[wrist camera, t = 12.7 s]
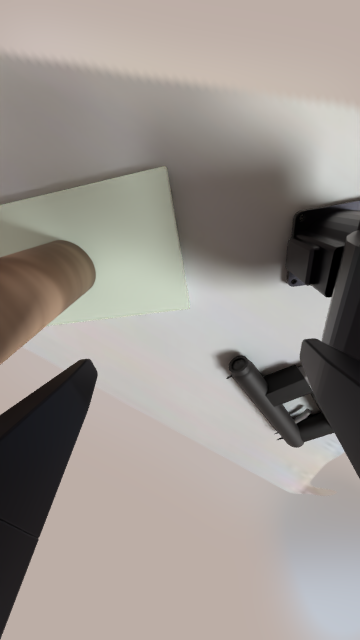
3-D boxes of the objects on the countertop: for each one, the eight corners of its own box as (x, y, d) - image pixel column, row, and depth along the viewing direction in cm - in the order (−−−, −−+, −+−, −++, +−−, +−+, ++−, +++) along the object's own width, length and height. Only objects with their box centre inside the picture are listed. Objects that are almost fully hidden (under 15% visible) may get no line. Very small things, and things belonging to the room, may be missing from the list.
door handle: (371, 311, 19) (221, 381, 24) (402, 420, 26) (285, 455, 31) (346, 297, 21) (217, 362, 26) (381, 399, 29) (276, 434, 34)
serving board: (166, 167, 16) (164, 166, 14) (189, 303, 22) (189, 308, 21) (-23, 212, 18) (-37, 213, 17) (45, 321, 24) (38, 327, 23)
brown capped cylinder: (98, 252, 18) (-41, 328, 8) (92, 300, 21) (-16, 406, 10) (40, 231, 18) (-198, 282, 7) (42, 283, 20) (-128, 377, 10)
